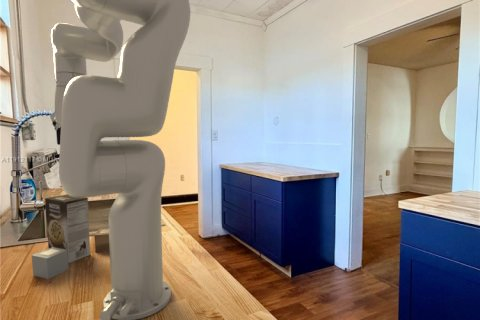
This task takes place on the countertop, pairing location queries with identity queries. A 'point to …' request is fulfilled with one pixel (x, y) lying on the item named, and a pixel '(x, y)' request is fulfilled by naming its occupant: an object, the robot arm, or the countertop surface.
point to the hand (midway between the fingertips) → (75, 144)
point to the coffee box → (68, 225)
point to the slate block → (50, 262)
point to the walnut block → (102, 240)
